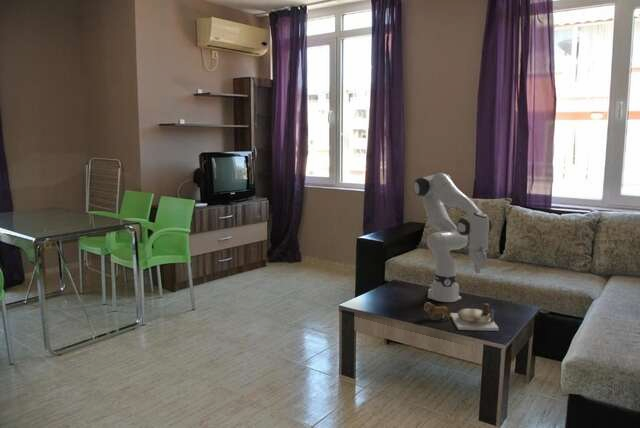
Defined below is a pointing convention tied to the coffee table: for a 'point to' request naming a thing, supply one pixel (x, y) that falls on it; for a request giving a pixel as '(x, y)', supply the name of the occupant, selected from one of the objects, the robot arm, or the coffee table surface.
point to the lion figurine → (436, 310)
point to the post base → (474, 323)
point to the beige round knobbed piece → (475, 314)
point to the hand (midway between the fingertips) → (477, 272)
